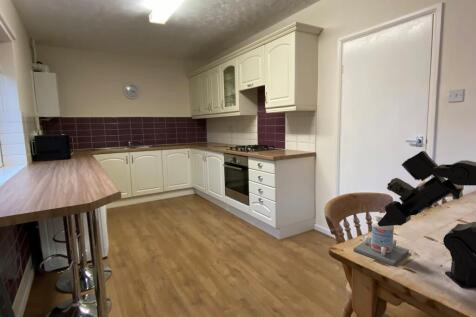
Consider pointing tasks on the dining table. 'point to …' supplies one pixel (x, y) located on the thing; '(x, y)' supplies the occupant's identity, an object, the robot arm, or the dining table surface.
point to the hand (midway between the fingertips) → (385, 221)
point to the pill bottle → (381, 235)
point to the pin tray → (382, 252)
